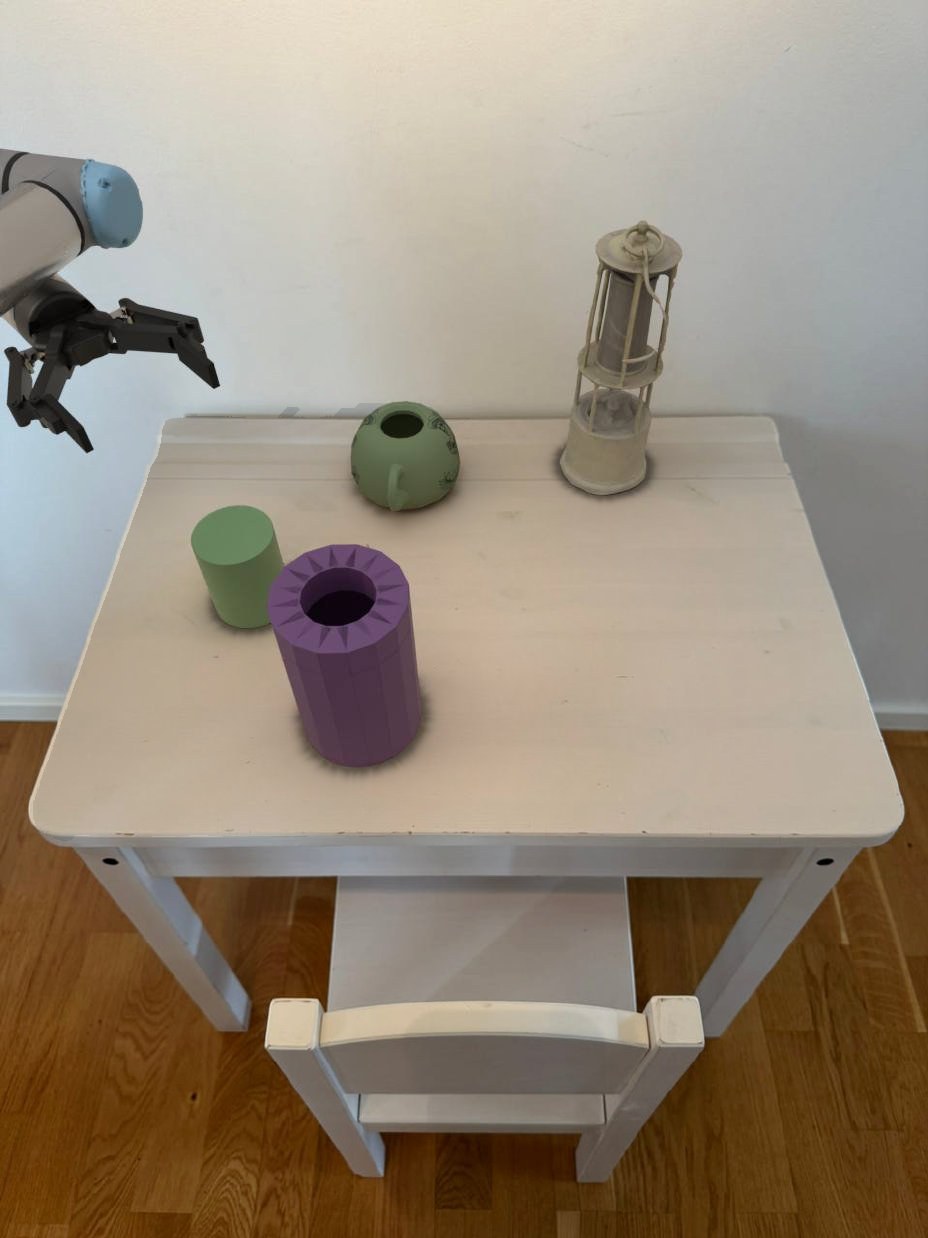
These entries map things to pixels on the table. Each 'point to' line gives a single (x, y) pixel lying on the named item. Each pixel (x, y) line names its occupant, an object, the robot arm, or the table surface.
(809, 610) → the table surface
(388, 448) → the green round pot
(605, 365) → the lamp
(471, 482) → the table surface
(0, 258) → the robot arm
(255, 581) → the green cylinder
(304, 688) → the jar
